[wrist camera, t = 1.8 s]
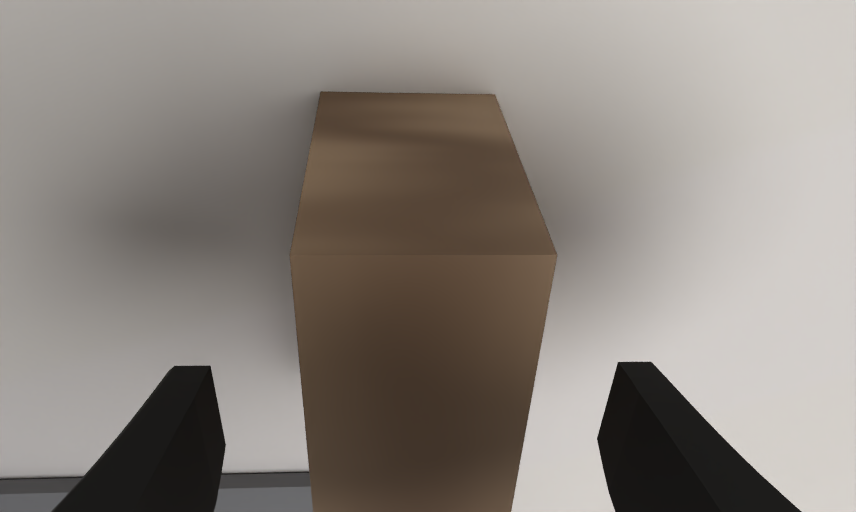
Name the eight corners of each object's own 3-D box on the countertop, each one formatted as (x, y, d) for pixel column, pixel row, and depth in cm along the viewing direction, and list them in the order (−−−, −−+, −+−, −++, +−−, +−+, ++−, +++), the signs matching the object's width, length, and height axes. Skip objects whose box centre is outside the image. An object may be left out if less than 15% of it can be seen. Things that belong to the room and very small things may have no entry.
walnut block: (335, 373, 18) (320, 586, 13) (320, 90, 14) (289, 256, 9) (466, 371, 19) (498, 579, 14) (494, 93, 14) (557, 255, 9)
